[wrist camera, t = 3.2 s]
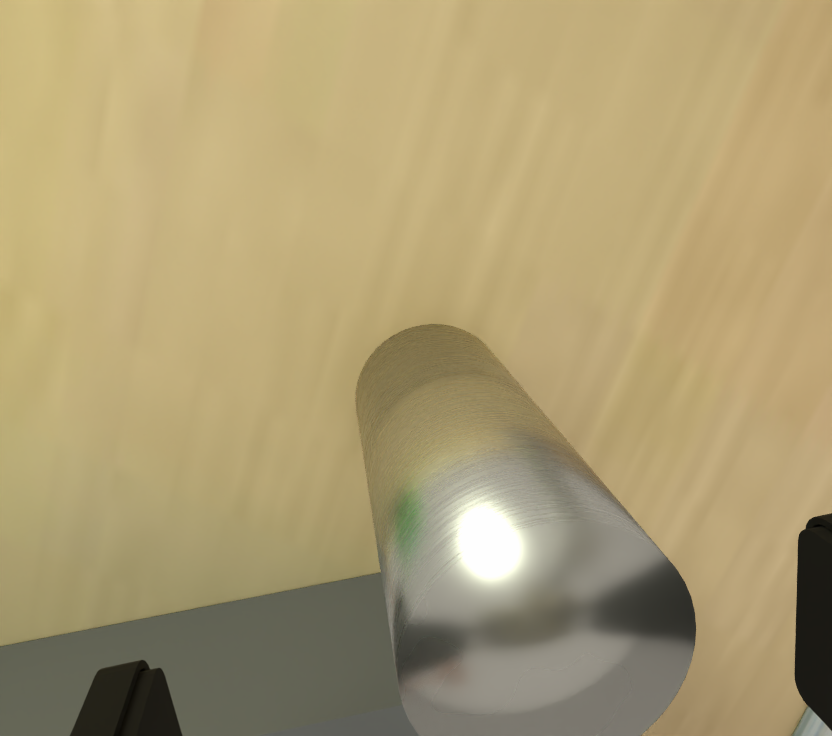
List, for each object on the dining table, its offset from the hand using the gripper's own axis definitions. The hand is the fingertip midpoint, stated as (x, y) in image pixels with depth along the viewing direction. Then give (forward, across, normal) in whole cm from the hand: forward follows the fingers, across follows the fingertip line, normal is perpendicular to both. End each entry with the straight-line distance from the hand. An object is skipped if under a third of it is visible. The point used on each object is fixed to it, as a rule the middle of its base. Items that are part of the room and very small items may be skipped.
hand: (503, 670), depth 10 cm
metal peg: (+9, -1, -1) cm, 9 cm away
